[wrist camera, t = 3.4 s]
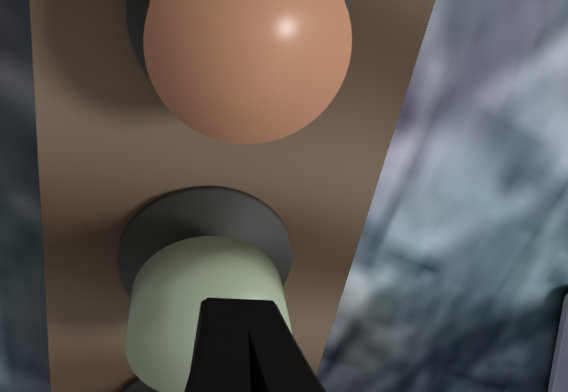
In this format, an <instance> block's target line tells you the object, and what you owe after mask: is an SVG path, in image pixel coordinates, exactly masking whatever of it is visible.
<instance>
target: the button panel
mask: <svg viewBox="0 0 568 392" xmlns="http://www.w3.org/2000/svg"><path fill="white" fill-rule="evenodd" d="M344 1H345V4H346V7H347V10H348V12H349V17H350V22H351V30H352V49H351V57H350V62H349V66H348V69H347V72H346V76H345V78H344V80H343V83H342V85H341V87H340V89H339V91H338V92H337V94H336V95H335V97H334V99H333V100H332V101H331V103H330V104H329V105H328V106H327V108H326V109H325V110H324V111H323V112H322V113H321V114H320V115H319V116H318V117H317V118H316V119H314V120H313V121H312V122H311V123H309V124H308V125H307V126H305V127H304V128H302V129H300V130H299V131H297V132H295V133H293V134H291V135H288V136H286V137H284V138H281V139H278V140H275V141H271V142H265V143H260V144H234V143H227V142H222V141H219V140H215V139H212V138H209V137H207V136H205V135H202V134H200V133H198V132H196V131H195V130H193V129H191V128H189V127H188V126H187V125H185V124H184V123H183V122H181V121H180V120H179V119H178V118H177V117H176V116H175V115H174V114H173V113H172V112H171V111H170V110H169V109H168V108H167V107H166V105H165V104H164V103H163V102H162V100H161V99H160V97H159V95H158V94H157V92H156V90H155V89H154V86H153V84H152V82H151V80H150V77H149V74H148V71H147V67H146V63H145V57H144V50H143V35H144V26H145V20H146V16H147V12H148V8H149V3H150V0H29V2H30V21H31V39H32V58H33V76H34V95H35V113H36V131H37V150H38V168H39V187H40V205H41V224H42V242H43V260H44V279H45V297H46V316H47V334H48V353H49V371H50V390H51V392H159V391H156V390H155V389H153V388H151V387H149V386H148V385H146V384H145V383H144V382H143V381H141V380H140V379H139V378H138V377H137V376H136V375H135V373H134V372H133V370H132V369H131V367H130V365H129V363H128V361H127V357H126V351H125V343H126V335H127V327H128V319H129V311H130V303H131V295H132V288H133V283H134V280H135V277H136V275H137V274H138V272H139V270H140V269H141V267H142V266H143V265H144V263H145V262H146V261H147V260H148V259H149V258H150V257H151V256H153V255H154V254H155V253H157V252H158V251H160V250H161V249H163V248H165V247H166V246H169V245H171V244H173V243H175V242H178V241H181V240H184V239H189V238H193V237H201V236H222V237H229V238H234V239H238V240H241V241H244V242H246V243H248V244H251V245H253V246H255V247H256V248H258V249H259V250H261V251H262V252H263V253H264V254H266V255H267V256H268V257H269V258H270V259H271V261H272V262H273V263H274V265H275V266H276V268H277V270H278V272H279V275H280V278H281V283H282V287H283V292H284V297H285V301H286V306H287V311H288V315H289V320H290V324H291V330H292V335H293V337H294V339H295V341H296V342H297V344H298V346H299V348H300V349H301V351H302V353H303V355H304V356H305V358H306V360H307V362H308V363H309V365H310V367H311V368H312V370H313V372H314V373H315V375H317V371H318V368H319V365H320V362H321V359H322V356H323V353H324V349H325V346H326V343H327V340H328V337H329V334H330V330H331V327H332V324H333V321H334V318H335V315H336V312H337V308H338V305H339V302H340V299H341V296H342V293H343V290H344V286H345V283H346V280H347V277H348V274H349V271H350V268H351V264H352V261H353V258H354V255H355V252H356V249H357V245H358V242H359V239H360V236H361V233H362V230H363V227H364V223H365V220H366V217H367V214H368V211H369V208H370V205H371V201H372V198H373V195H374V192H375V189H376V186H377V183H378V179H379V176H380V173H381V170H382V167H383V164H384V160H385V157H386V154H387V151H388V148H389V145H390V142H391V138H392V135H393V132H394V129H395V126H396V123H397V120H398V116H399V113H400V110H401V107H402V104H403V101H404V98H405V94H406V91H407V88H408V85H409V82H410V79H411V75H412V72H413V69H414V66H415V63H416V60H417V57H418V53H419V50H420V47H421V44H422V41H423V38H424V35H425V31H426V28H427V25H428V22H429V19H430V16H431V13H432V9H433V6H434V3H435V0H344Z"/></svg>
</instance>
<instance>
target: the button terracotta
mask: <svg viewBox="0 0 568 392" xmlns="http://www.w3.org/2000/svg"><path fill="white" fill-rule="evenodd" d="M351 49H352V30H351V22H350V17H349V12H348V10H347V7H346V4H345V1H344V0H150V3H149V8H148V12H147V16H146V20H145V26H144V35H143V50H144V57H145V63H146V67H147V71H148V74H149V77H150V80H151V82H152V84H153V86H154V89H155V90H156V92H157V94H158V95H159V97H160V99H161V100H162V102H163V103H164V104H165V105H166V107H167V108H168V109H169V110H170V111H171V112H172V113H173V114H174V115H175V116H176V117H177V118H178V119H179V120H180V121H181V122H183V123H184V124H185V125H187V126H188V127H189V128H191V129H193V130H195V131H196V132H198V133H200V134H202V135H205V136H207V137H209V138H212V139H215V140H219V141H222V142H227V143H234V144H260V143H265V142H271V141H275V140H278V139H281V138H284V137H286V136H288V135H291V134H293V133H295V132H297V131H299V130H300V129H302V128H304V127H305V126H307V125H308V124H309V123H311V122H312V121H313V120H314V119H316V118H317V117H318V116H319V115H320V114H321V113H322V112H323V111H324V110H325V109H326V108H327V106H328V105H329V104H330V103H331V101H332V100H333V99H334V97H335V95H336V94H337V92H338V91H339V89H340V87H341V85H342V83H343V80H344V78H345V76H346V72H347V69H348V66H349V62H350V57H351Z"/></svg>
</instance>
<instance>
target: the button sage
mask: <svg viewBox="0 0 568 392" xmlns="http://www.w3.org/2000/svg"><path fill="white" fill-rule="evenodd" d="M208 297H209V298H231V299H253V300H273V301H274V302H275V304H276V305H277V306H278V308H279V310H280V312H281V314H282V316H283V318H284V320H285V322H286V324H287V326H288V328H289V330H290V331H291V333H292V330H291V324H290V320H289V315H288V311H287V306H286V301H285V297H284V292H283V287H282V283H281V278H280V275H279V272H278V270H277V268H276V266H275V265H274V263H273V262H272V261H271V259H270V258H269V257H268V256H267V255H266V254H264V253H263V252H262V251H261V250H259V249H258V248H256V247H255V246H253V245H251V244H248V243H246V242H244V241H241V240H238V239H234V238H229V237H222V236H201V237H193V238H189V239H184V240H181V241H178V242H175V243H173V244H171V245H169V246H166V247H165V248H163V249H161V250H160V251H158V252H157V253H155V254H154V255H153V256H151V257H150V258H149V259H148V260H147V261H146V262H145V263H144V265H143V266H142V267H141V269H140V270H139V272H138V274H137V275H136V277H135V280H134V283H133V288H132V295H131V303H130V311H129V319H128V327H127V335H126V343H125V351H126V357H127V361H128V363H129V365H130V367H131V369H132V370H133V372H134V373H135V375H136V376H137V377H138V378H139V379H140V380H141V381H143V382H144V383H145V384H146V385H148V386H149V387H151V388H153V389H155V390H156V391H159V392H184V391H185V387H186V384H187V381H188V377H189V374H190V368H191V362H192V356H193V349H194V343H195V337H196V330H197V324H198V318H199V311H200V305H201V302H202V301H203V300H205V299H206V298H208Z"/></svg>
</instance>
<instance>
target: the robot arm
mask: <svg viewBox="0 0 568 392" xmlns="http://www.w3.org/2000/svg"><path fill="white" fill-rule="evenodd" d="M184 392H326V391H325V389H324V388H323V386H322V384H321V383H320V381H319V380H318V378H317V376H316V375H315V373H314V372H313V370H312V368H311V367H310V365H309V363H308V362H307V360H306V358H305V356H304V355H303V353H302V351H301V349H300V348H299V346H298V344H297V342H296V341H295V339H294V337H293V335H292V333H291V331H290V330H289V328H288V326H287V324H286V322H285V320H284V318H283V316H282V314H281V312H280V310H279V308H278V306H277V305H276V304H275V302H274V301H273V300H253V299H231V298H209V297H208V298H206V299H205V300H203V301H202V302H201V305H200V311H199V318H198V324H197V330H196V337H195V343H194V349H193V356H192V362H191V368H190V374H189V377H188V381H187V384H186V387H185V391H184ZM548 392H568V293H567V294H566V296H565V298H564V302H563V307H562V313H561V318H560V324H559V330H558V335H557V341H556V347H555V352H554V358H553V364H552V369H551V375H550V381H549V386H548Z"/></svg>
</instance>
